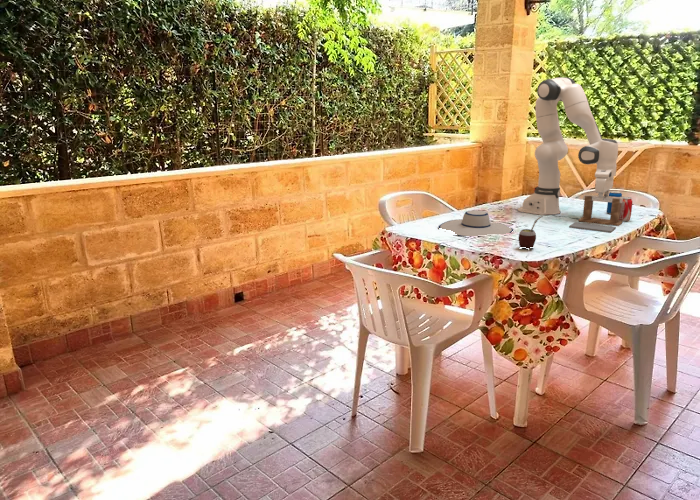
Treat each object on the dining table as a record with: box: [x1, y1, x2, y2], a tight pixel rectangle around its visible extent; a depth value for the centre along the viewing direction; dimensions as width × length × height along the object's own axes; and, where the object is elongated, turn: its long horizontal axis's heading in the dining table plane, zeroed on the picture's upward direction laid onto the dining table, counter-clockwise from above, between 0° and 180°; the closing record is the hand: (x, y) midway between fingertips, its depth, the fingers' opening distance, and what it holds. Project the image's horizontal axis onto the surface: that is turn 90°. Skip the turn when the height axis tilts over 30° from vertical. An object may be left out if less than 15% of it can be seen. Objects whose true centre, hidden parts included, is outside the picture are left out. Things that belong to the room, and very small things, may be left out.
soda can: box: [619, 196, 633, 223], centre depth 265 cm, size 7×7×12 cm
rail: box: [582, 193, 624, 203], centre depth 261 cm, size 18×3×2 cm, turn 52°
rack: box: [578, 196, 624, 227], centre depth 263 cm, size 19×8×13 cm, turn 52°
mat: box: [568, 221, 617, 234], centre depth 253 cm, size 19×10×1 cm, turn 52°
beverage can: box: [606, 190, 623, 215], centre depth 281 cm, size 6×6×12 cm
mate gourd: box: [518, 215, 544, 248], centre depth 219 cm, size 8×8×15 cm
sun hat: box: [438, 209, 514, 237], centre depth 256 cm, size 36×36×9 cm
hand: (603, 199), depth 261 cm, fingers open, 8 cm apart
